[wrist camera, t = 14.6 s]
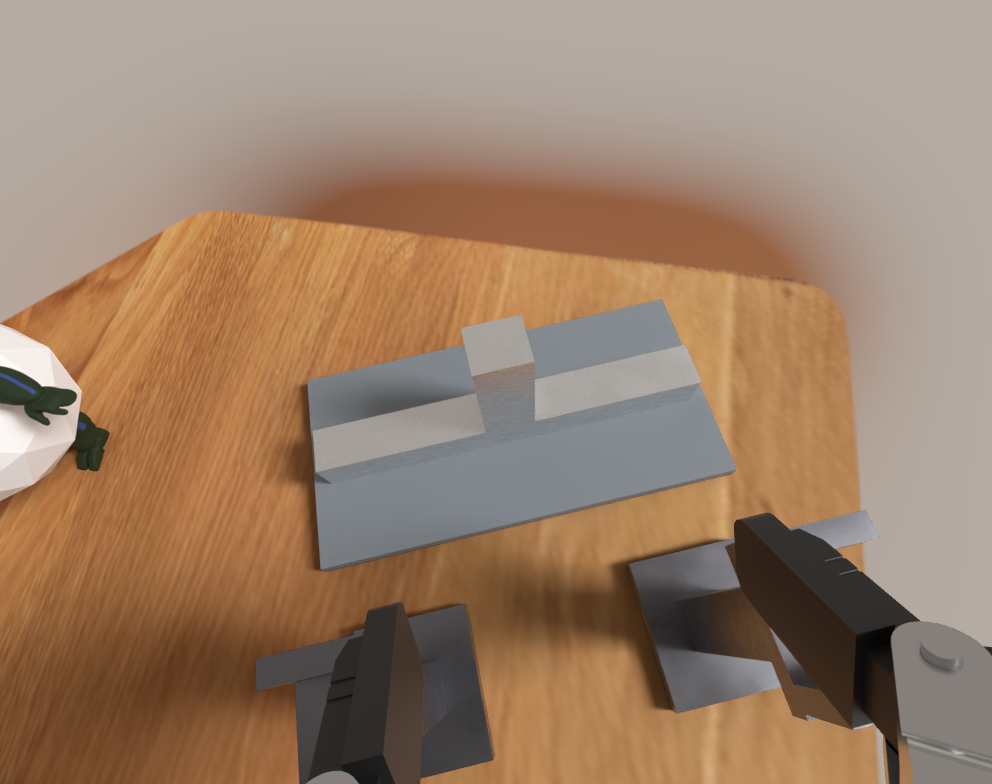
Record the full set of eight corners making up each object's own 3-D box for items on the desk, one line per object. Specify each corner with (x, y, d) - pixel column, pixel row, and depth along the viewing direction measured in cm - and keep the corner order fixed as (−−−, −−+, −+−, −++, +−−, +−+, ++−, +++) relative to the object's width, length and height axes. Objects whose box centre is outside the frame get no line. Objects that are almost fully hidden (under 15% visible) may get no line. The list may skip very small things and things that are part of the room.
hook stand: (374, 785, 25) (196, 956, 12) (359, 630, 28) (203, 631, 15) (788, 681, 26) (1052, 734, 13) (730, 540, 29) (894, 464, 16)
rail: (332, 483, 31) (252, 426, 22) (328, 445, 32) (251, 375, 23) (689, 400, 31) (747, 312, 23) (674, 364, 32) (724, 268, 24)
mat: (327, 571, 29) (320, 569, 29) (313, 387, 35) (307, 380, 34) (730, 474, 30) (736, 469, 29) (659, 307, 35) (662, 299, 34)
